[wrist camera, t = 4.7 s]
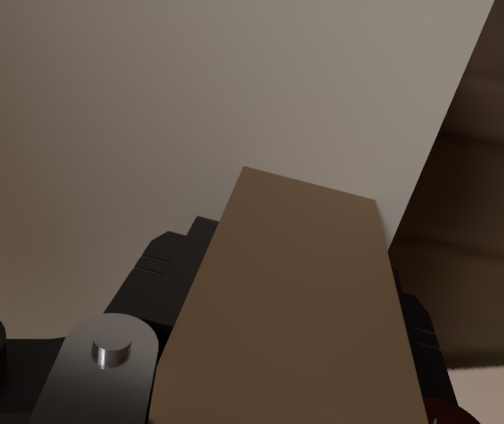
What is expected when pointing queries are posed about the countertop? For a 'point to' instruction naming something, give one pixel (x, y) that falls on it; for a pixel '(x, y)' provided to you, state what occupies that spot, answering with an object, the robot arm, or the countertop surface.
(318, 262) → the lid
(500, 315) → the countertop surface
